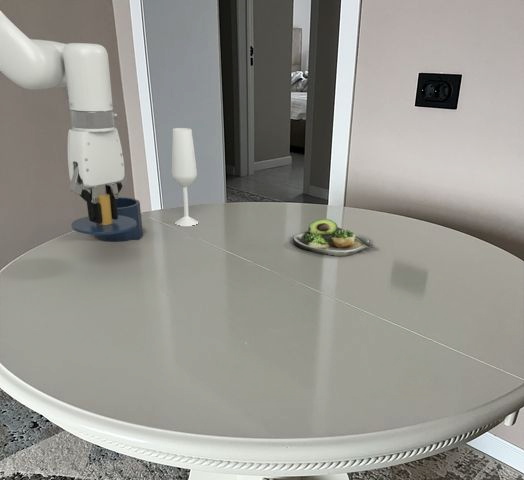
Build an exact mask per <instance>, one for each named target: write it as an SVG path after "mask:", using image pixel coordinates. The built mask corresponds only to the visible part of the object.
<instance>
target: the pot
mask: <svg viewBox="0 0 524 480" xmlns="http://www.w3.org/2000/svg"><path fill="white" fill-rule="evenodd" d="M116 201H117V213H118V215H121V216H126V217H130V218H133V219H134V220H136V224H137V225H136V227H135V228H134V229H132V230H129V231H126V232H122V233H117V234H109V235H94V238H95V239H96V240H98V241H103V242H108V243H109V242H110V243H111V242H113V243H118V242H119V243H120V242H128V241H139V240H141V239H142V238H143V236H144V235H143V233H144V232H143V221H142V212H141V202H140V200H138V199H136V198H133V197H126V196H125V197H123V196H122V197H121V196H119V198H118V199H116ZM141 237H142V238H141ZM140 238H141V239H140Z"/></svg>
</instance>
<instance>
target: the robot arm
mask: <svg viewBox="0 0 524 480" xmlns="http://www.w3.org/2000/svg"><path fill="white" fill-rule="evenodd" d="M0 72H1V74H3V75H4V76H5V77H6V78H8V79H9V80H10V81H11V82H13V83H14V84H16V85H17V86H20V87H21V88H24V89H26V90H30V91H37V90H45V89H49V90H50V89H56V88H65V87H66V90H67V97H68V104H69V112H70V121H71V128H69V129H68V133H67V149H66V150H67V166H68V167H67V168H68V175H69V181H70V183H69V184H70V185H69V187H68V190H69V191H70V192H71V193H74V194H77V196H79V197H81V198H82V200H83V201H84V202H86V207H87V215H88V216H89V220H90V221H91V222H95V223H98V224H100V223H102V213H101V205H100V203H98V202H97V194H98V187H101V186H103V191H104V194H109V195H110V203H111V213H112V219H115V220H116V219H118V213H117V201H116V199H118V198H119V197H120V192H121V190H122V188H123V187H124V186H125V185H126V184H127V183H128V181H129V178H128V176H127V174H126V172H125V162H124V160H125V159H124V154H123V148H122V147H123V146H122V144H121V139H120V135H119V131H118V128H117V127H116V126H115V121H116V120H117V119H118V115H117V113H116V112H114V105H113V93H112V84H111V74H110V62H109V54H108V51H107V49H106V47H104V46H103V45H101V44H99V43H85V42H69V43H62V42H58V41H55V40H44V39H35V38H33V39H32V38H29V37H28V36H27V35H26V34H25V33H24V32H23V31H21V30H20V28H18V27H17V26H16V25H15V24H14V23H13V22H12V21H11V20H10V19H9V18H8V17H7V16H6V15H5V14H4V12H2V11H1V10H0ZM81 185H82V187H81ZM88 216H87V217H88Z"/></svg>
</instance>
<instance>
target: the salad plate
mask: <svg viewBox="0 0 524 480" xmlns="http://www.w3.org/2000/svg"><path fill="white" fill-rule="evenodd" d="M307 228H308V230H307V231H305V232H302V233H298V234H295V235H294V236H292V237H293V238H292V241H293V244H295V246H296V247H297V248H299V249H301V250H305V251H308V250H309V251H308V252H311V253H315V252H317V253H316V254H321V253H322V255H327V254H328V256H332V255H334V256H333V257H348V256H347V255H349V256H353V255H355V254H357V253H358V252H362V251H363V250H364V249H374V248H375V247H376V246H375V245H374V244H372V243H370V239H369V238H368V237H367V236H365V235H362V234H357V233H354V232H353V231H351V230H349V229H347V230H344V229H343V228H341V227H338V224H337V222H335V221H334V220H332V219H328V218H319V219H317V220H315V221H312V222H311V223H309V226H308V227H307Z"/></svg>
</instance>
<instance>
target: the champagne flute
mask: <svg viewBox="0 0 524 480" xmlns="http://www.w3.org/2000/svg"><path fill="white" fill-rule="evenodd" d="M171 138H172V139H171V140H172V141H171V142H172V144H171V177H172V178H173V180H174V182H176V183H177V184H178V185H179V186H180V187H182V197H183V216H182V217H181V218H179V219H177V220H176V221H175V222H174V225H175V224H177V225H176V226H178V225H180V226H179V227H193V226H192V225H195V226H197V225H196V224H198V222H199V221H198V220H196V219H194V218H192V217H191V216H190V215H189V196H188V195H189V194H188V193H189V192H188V187H189V186H191V184H193V183H194V181H195V180H196V179H197V176H198V170H197V169H198V168H197V161H196V160H197V159H196V154H195V153H196V152H195V146H194V137H193V130H192V128H189V127H175V128H172V137H171ZM198 225H199V224H198Z"/></svg>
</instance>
